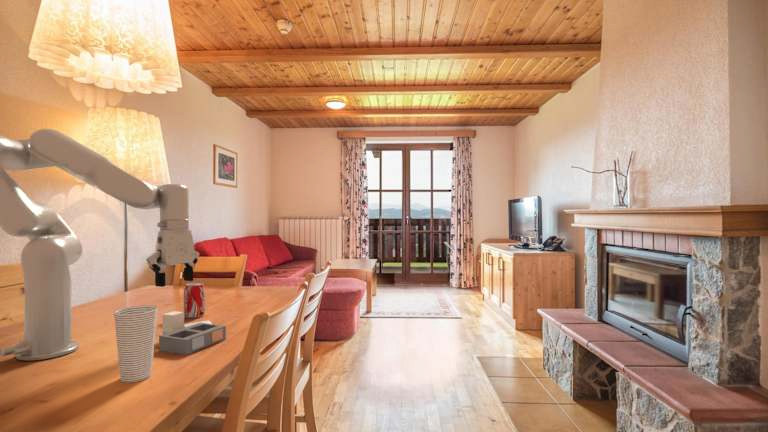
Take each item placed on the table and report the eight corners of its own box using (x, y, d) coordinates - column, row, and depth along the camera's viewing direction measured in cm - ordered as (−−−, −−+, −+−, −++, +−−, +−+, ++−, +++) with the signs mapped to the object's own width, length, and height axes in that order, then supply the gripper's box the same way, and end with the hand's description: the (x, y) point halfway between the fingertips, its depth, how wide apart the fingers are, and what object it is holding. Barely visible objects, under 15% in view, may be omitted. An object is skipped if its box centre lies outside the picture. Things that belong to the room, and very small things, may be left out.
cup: (109, 388, 83) (109, 315, 83) (118, 373, 91) (118, 307, 91) (154, 381, 86) (155, 312, 86) (160, 367, 94) (160, 304, 94)
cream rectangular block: (172, 342, 113) (172, 315, 113) (162, 341, 114) (162, 314, 114) (184, 338, 116) (184, 312, 116) (174, 337, 118) (174, 311, 118)
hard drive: (183, 324, 128) (189, 333, 118) (209, 320, 133) (218, 328, 123) (183, 329, 128) (189, 338, 118) (209, 325, 133) (218, 333, 123)
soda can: (199, 319, 139) (199, 285, 139) (179, 318, 139) (179, 285, 139) (208, 314, 146) (208, 282, 146) (189, 314, 146) (190, 282, 146)
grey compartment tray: (187, 355, 103) (187, 340, 103) (158, 350, 106) (159, 335, 106) (226, 339, 116) (226, 325, 116) (200, 335, 119) (200, 322, 119)
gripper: (157, 227, 106) (158, 289, 106) (207, 225, 122) (207, 279, 122) (138, 226, 108) (138, 287, 108) (189, 225, 124) (189, 278, 125)
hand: (175, 283), depth 115 cm, fingers open, 9 cm apart
